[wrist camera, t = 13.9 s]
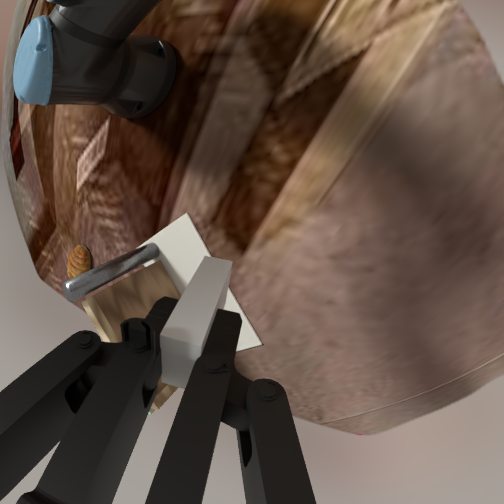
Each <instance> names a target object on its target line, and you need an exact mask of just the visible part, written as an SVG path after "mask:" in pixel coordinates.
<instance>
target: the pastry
mask: <svg viewBox="0 0 504 504" xmlns="http://www.w3.org/2000/svg"><path fill="white" fill-rule="evenodd" d="M67 267H68V271H67V272H68V276H69V278H70V279H72V278H74V277H76V276H78V275H80V274H83V273H85V272H87V271H89V270H90V268H91V257H90V252H89V251H88V249H87V248H86V247H85V246H83V245H77V247H76V248H75V249H73V252H72V253H71V254H70V256H69V259H68V263H67Z"/></svg>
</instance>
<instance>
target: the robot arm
mask: <svg viewBox="0 0 504 504" xmlns="http://www.w3.org/2000/svg"><path fill="white" fill-rule="evenodd" d="M47 1H48V2H51V3H55V4H56V6H55V7H54V9H53V11H52V12H51V14H50V15H49V16H48V17H47V16H45V15H43V16H39V17H36V18H34V19H33V20H32V22H31V23H30V24H29V25H28V26H27V28H26V30H25V32H24V34H23V36H22V38H21V41H20V44H19V47H18V50H17V54H16V58H15V64H14V74H13V81H14V90H15V93H16V96H17V98H18V99H19V100H20V101H21V102H23V103H27V104H41V105H43V106H44V105H51V104H72V105H98V106H99V107H101V108H103V109H105V110H107V111H109V112H111V113H113V114H114V115H116V116H119V117H122V118H141V117H144V116H146V115H148V114H150V113H151V112H153V111H154V110H155V109H156V108H157V107H158V106H159V105H160V104H161V103H162V102H163V100H164V99H165V98H166V96H167V95H168V93H169V91H170V89H171V87H172V84H173V81H174V78H175V74H176V56H175V53H174V50H173V48H172V47H171V45H170V44H169V43H168V42H167V41H165V40H163V39H161V38H158V37H156V36H153V35H130V34H131V33H132V32H133V30H134V29H135V28H136V27H137V26H138V25H139V24H140V22H141V21H142V20H143V19H144V18H145V17H146V16H147V15H148V14H149V13H150V12H151V11H152V10H153V9H154V7H155V6H156V5H157V4H158V3H159V2H160V1H161V0H47ZM232 262H233V261H228V260H223V259H219V258H214V257H210V256H204V258H203V260H202V262H201V263H200V265H199V267H198V268H197V270H196V272H195V274H194V275H193V277H192V279H191V280H190V282H189V284H188V286H187V287H186V289H185V291H184V293H183V294H182V296H181V298H180V300H178V299H174V298H171V297H167V296H164V297H162V298H161V299H159V300H157V301H156V302H155V304H154V305H153V307H152V309H151V310H150V311H149V313H148V315H147V316H146V317H145V319H144V318H137V317H136V318H129V319H127V320H124V321H123V322H122V323H121V324H120V328H121V336H122V342H118V343H113V342H101V339H100V337H99V336H98V335H97V334H96V333H94V332H92V331H87V330H84V331H79V332H77V333H75V334H73V335H72V336H71V337H69V338H68V339H67V340H65V341H64V342H63V343H61V344H60V345H59V346H57V347H56V348H55V349H54V350H53V351H51V352H50V353H48V354H47V355H46V356H44V357H43V358H42V359H41V360H39V361H38V362H37V363H36V364H34V365H33V366H32V367H30V368H29V369H28V370H27V371H25V372H24V373H23V374H22V375H20V376H19V377H18V378H17V379H16V380H14V381H13V382H12V383H11V384H9V385H8V386H7V387H6V388H5V389H3V390H2V391H1V392H0V501H1V500H2V499H3V498H4V497H5V496H6V495H7V494H8V493H9V492H10V491H11V490H12V489H13V488H14V487H15V486H16V485H17V484H18V483H19V482H20V481H21V480H22V479H23V478H24V477H25V476H26V475H27V474H28V473H29V472H30V471H31V470H32V469H33V468H34V467H35V466H36V465H37V464H38V463H39V462H40V461H41V460H42V459H43V458H44V456H46V455H47V454H48V453H49V451H51V449H52V448H53V447H54V446H55V445H56V444H57V443H58V442H59V441H60V440H61V441H60V443H59V445H58V447H57V449H56V450H55V452H54V454H53V456H52V458H51V459H50V461H49V463H48V465H47V467H46V469H45V471H44V473H43V475H42V477H41V479H40V481H39V483H38V485H37V487H36V488H35V489H34V490H33V491H31V492H27V493H24V494H23V495H22V496H21V497H20V498H19V499H18V501H17V503H16V504H112V502H113V499H114V497H115V494H116V491H117V489H118V486H119V484H120V481H121V479H122V476H123V473H124V471H125V469H126V466H127V464H128V461H129V458H130V456H131V454H132V451H133V449H134V446H135V444H136V441H137V439H138V437H139V434H140V432H141V429H142V427H143V425H144V422H145V420H146V418H147V415H148V413H149V411H150V408H151V406H152V403H153V401H154V399H155V396H156V394H157V391H158V381H159V379H160V377H161V380H162V383H166V384H169V385H172V386H176V387H180V388H184V389H185V391H184V394H183V396H182V399H181V402H180V405H179V407H178V410H177V413H176V416H175V419H174V421H173V425H172V427H171V430H170V433H169V436H168V439H167V441H166V444H165V447H164V450H163V453H162V456H161V458H160V461H159V464H158V467H157V470H156V473H155V476H154V479H153V482H152V485H151V487H150V490H149V494H148V496H147V499H146V502H145V504H202V500H203V495H204V491H205V487H206V482H207V478H208V474H209V470H210V465H211V461H212V457H213V452H214V448H215V443H216V439H217V435H218V430H219V426H220V422H223V423H225V424H227V425H229V426H231V427H233V428H235V429H236V431H237V440H238V448H239V455H240V463H241V470H242V477H243V484H244V491H245V498H246V504H316V501H315V497H314V493H313V490H312V486H311V483H310V479H309V475H308V472H307V468H306V464H305V461H304V457H303V454H302V450H301V447H300V443H299V439H298V435H297V432H296V428H295V424H294V421H293V417H292V413H291V410H290V406H289V402H288V399H287V395H286V392H285V390H284V388H283V387H282V386H281V385H280V384H279V383H278V382H276V381H273V380H271V379H257V380H255V381H254V382H253V381H251V380H249V379H247V378H245V377H243V376H242V375H241V374H239V373H238V372H237V370H236V368H235V366H234V358H235V354H236V349H237V345H238V340H239V335H240V331H241V326H242V318H241V316H240V313H237V312H232V311H228V310H224V307H225V304H226V298H227V292H228V286H229V280H230V274H231V268H232Z"/></svg>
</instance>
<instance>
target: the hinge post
mask: <svg viewBox="0 0 504 504" xmlns="http://www.w3.org/2000/svg"><path fill="white" fill-rule="evenodd" d="M159 254H160V251H159V247H158V246H157V245H156V244H155V243H153V242H151V243H149V244H146V245H144V246H142V247H140V248H137V249H135V250H133V251H130V252H128V253H126V254H124V255H122V256H119V257H117V258H115V259H113V260H110V261H108V262H106V263H104V264H102V265H100V266H97V267H95V268H93V269H91V270H89V271H87V272H85V273H83V274H80V275H78V276H76V277H74V278H72V279H70V280H68V281H66V282H64V283H63V284H62V290H63V293H64V295H65V297H66V299H67V300H68V301H69V302H74V301H76V300H77V299H79V298H81V297H83V296H85V295H87V294H88V293H90V292H92V291H94V290H96V289H98V288H100V287H101V286H103V285H105V284H107V283H109V282H111V281H113V280H115V279H116V278H118V277H120V276H122V275H124V274H126V273H128V272H130V271H132V270H134V269H136V268H138V267H139V266H141V265H143V264H145V263H147V262H149V261H151V260H153V259H155V258H157V257H158V256H159Z"/></svg>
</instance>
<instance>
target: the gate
mask: <svg viewBox="0 0 504 504" xmlns="http://www.w3.org/2000/svg"><path fill="white" fill-rule="evenodd" d="M164 296H167V297H171V298H174V299H178V300H180V298H181V296H180V294H179V293H178V291H177V289H176V287H175V286H174V284H173V282H172V280H171V279H170V277H169V275H168V273H167V271H166V270H165V268H164V266H163V264H162V262H161V261H160V260H158V261H156V262H155V263H153V264H151V265H149V266H147V267H145V268H143V269H141V270H139V271H137V272H136V273H134V274H132V275H130V276H128V277H126V278H124V279H123V280H121V281H119V282H117V283H115V284H113V285H112V286H110V287H108V288H106V289H104V290H102V291H101V292H99V293H97V294H95V295H93V296H92V297H90V298H88V299H86V300H85V301H83V302H82V305H83V307H84V308H85V310H86V312H87V314H88V315H89V317H90V319H91V321H92V322H93V324H94V326H95V328H96V329H97V331H98V332H99V334H100V336H101V337H102V339H103V341H104V342H113V343H118V342H122V336H121V328H120V324H121V323H122V322H123V321H124V320H127V319H129V318H136V317H137V318H144V319H145V317H146V316H147V315H148V313H149V311H150V310H151V309H152V307H153V305H154V304H155V302H156V301H157V300H159V299H161V298H162V297H164ZM177 388H178V387H176V386H172V385H169V384H166V383H162V380H161V377H160V379H159V381H158V391H157V394H156V396H155V399H154V401H153V403H152V406H151V408H152V409H159V408H160V407H161V406H162V405H163V404H164V403H165V402H166V401H167V399H168V398H169V397H170V396H171V395H172V394H173V393H174V392H175V390H177Z"/></svg>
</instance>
